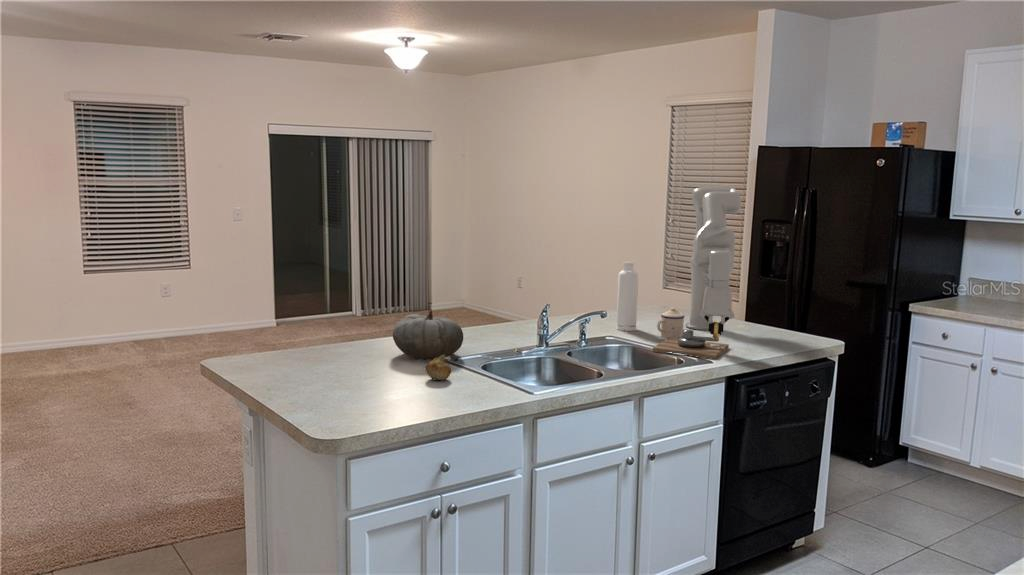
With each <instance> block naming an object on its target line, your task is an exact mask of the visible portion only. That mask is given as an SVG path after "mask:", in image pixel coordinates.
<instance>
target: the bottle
mask: <svg viewBox="0 0 1024 575" xmlns="http://www.w3.org/2000/svg"><path fill="white" fill-rule="evenodd" d="M622 264H623V268H622V270H621V271H619V272H618V275H617V302H616V306H617V307H616V328H617V329H619V330H618V331H621V330H625V331H624V332H633V331H632V330H634V331H637V317H638V315H637V313H638V290H639V289H638V288H639V287H638V286H639V274H638V272H637V271H636V270H635V268H634V265H635V261H629V260H628V261H627V260H626V261H623V262H622ZM617 329H616V330H617Z"/></svg>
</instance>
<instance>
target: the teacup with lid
mask: <svg viewBox="0 0 1024 575" xmlns="http://www.w3.org/2000/svg"><path fill="white" fill-rule="evenodd" d="M660 316H661V319H660V320H659V321H657V324H656V328H657V330H658V331H659V332H660V336H661V338H662V339H663V338H664V339H667V338H669V337H670V338H678V337H681V336H682V331H683V330H684V320H685V315H684V313H681V312H679V311H678V310H676V307H670V309H669V310H667V311H665V312H662V313H661V314H660Z"/></svg>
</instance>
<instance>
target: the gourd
mask: <svg viewBox="0 0 1024 575" xmlns="http://www.w3.org/2000/svg"><path fill="white" fill-rule="evenodd" d="M392 339H393V341H394V344H395V345H396V348H398V349H399V350H400V351H401V352H402V353H403V354H405V355H406V356H409V357H410V358H412V359H415V360H418V359H422V361H423V360H426V359H429V360H434V359H435V358H438V357H440V356H441V355H446V356H445V357H449V356H450V357H451V356H452V355H454V354H455V353H457V351H459V349H461V347H462V345H463V343H464V332H463V329H462V327H461V326H460V325H459V324H458V323H457V322H455V321H454V320H452V319H451V318H446V317H443V316H433V309H430V310H429V312H428V314H427V316H426V315H420V314H418V313H414V314H413V313H412V314H408V315H406V316H404V317H403V318H402V319H401V320H399V321H398V322H397V323H396V325H395V326H394V328H393V332H392Z"/></svg>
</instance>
